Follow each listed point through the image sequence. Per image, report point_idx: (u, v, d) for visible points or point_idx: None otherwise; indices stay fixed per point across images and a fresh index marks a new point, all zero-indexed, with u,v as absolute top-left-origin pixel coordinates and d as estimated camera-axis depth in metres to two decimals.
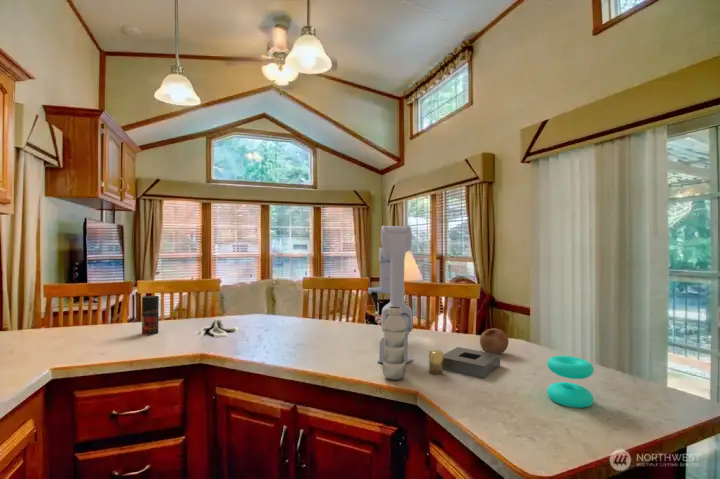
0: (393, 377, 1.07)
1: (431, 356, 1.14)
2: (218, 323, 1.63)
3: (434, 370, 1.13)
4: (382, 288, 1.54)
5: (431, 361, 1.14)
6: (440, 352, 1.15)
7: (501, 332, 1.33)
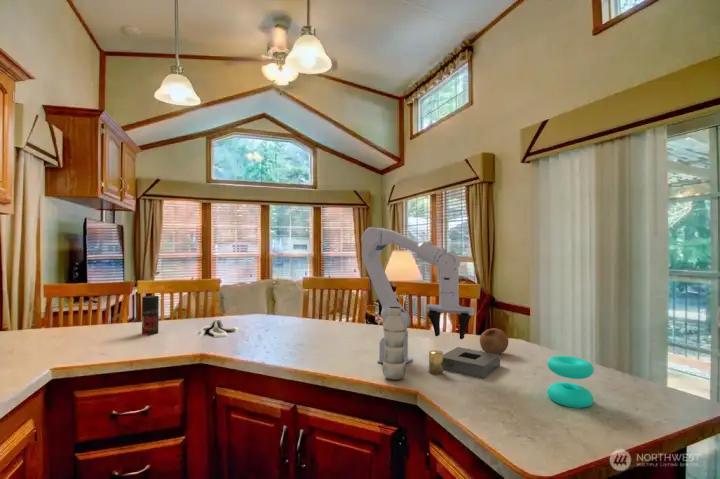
0: (393, 377, 1.07)
1: (431, 356, 1.14)
2: (218, 323, 1.63)
3: (434, 370, 1.13)
4: (440, 304, 1.17)
5: (431, 361, 1.14)
6: (440, 352, 1.15)
7: (501, 332, 1.33)
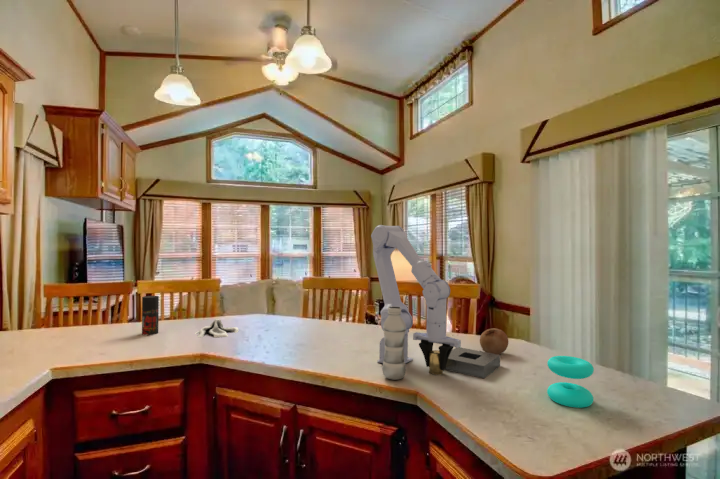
0: (393, 377, 1.07)
1: (431, 356, 1.14)
2: (218, 323, 1.63)
3: (434, 370, 1.13)
4: (427, 334, 1.15)
5: (431, 361, 1.14)
6: None
7: (501, 332, 1.33)
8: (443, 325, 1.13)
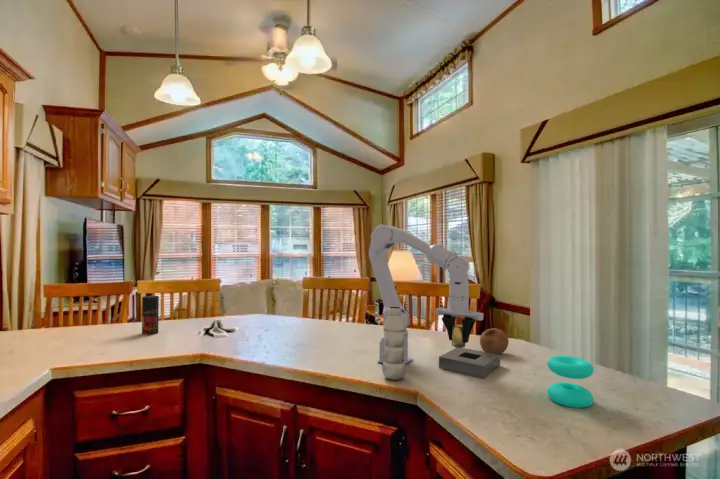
0: (393, 377, 1.07)
1: (454, 330, 1.17)
2: (218, 323, 1.62)
3: (457, 343, 1.17)
4: (450, 308, 1.18)
5: (454, 334, 1.17)
6: (462, 326, 1.18)
7: (501, 332, 1.33)
8: (466, 299, 1.16)
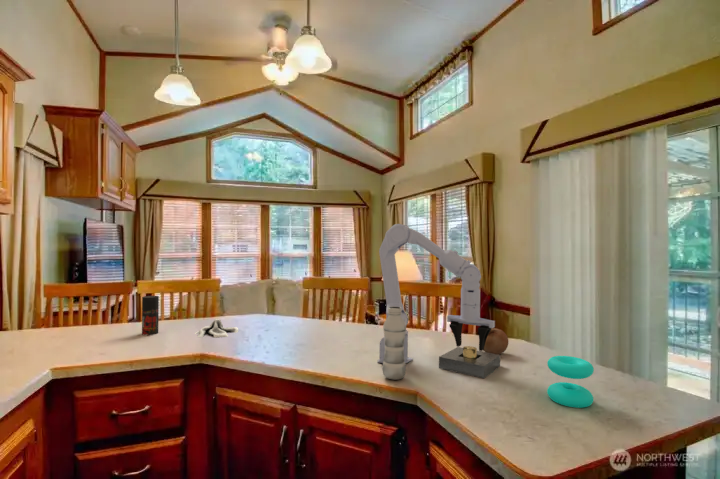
0: (393, 377, 1.07)
1: (465, 351, 1.19)
2: (218, 323, 1.62)
3: None
4: (461, 316, 1.20)
5: (465, 356, 1.19)
6: (474, 348, 1.20)
7: (501, 332, 1.33)
8: (477, 307, 1.18)
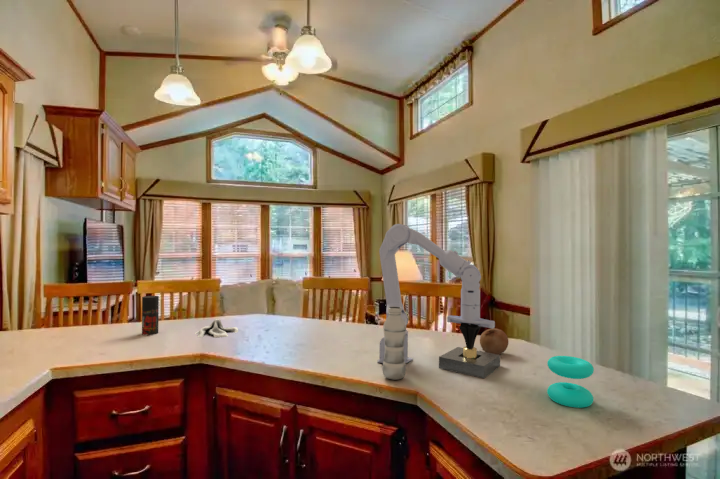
0: (393, 377, 1.07)
1: (465, 352, 1.19)
2: (218, 323, 1.62)
3: None
4: (461, 316, 1.20)
5: (465, 356, 1.19)
6: (474, 348, 1.20)
7: (501, 332, 1.33)
8: (477, 307, 1.18)
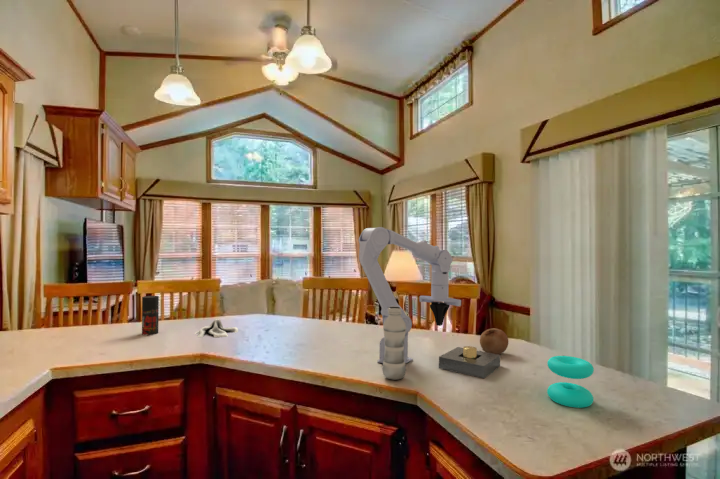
0: (393, 377, 1.07)
1: (465, 351, 1.19)
2: (218, 323, 1.62)
3: None
4: (431, 296, 1.31)
5: (465, 356, 1.19)
6: (474, 348, 1.20)
7: (501, 332, 1.33)
8: (446, 287, 1.30)
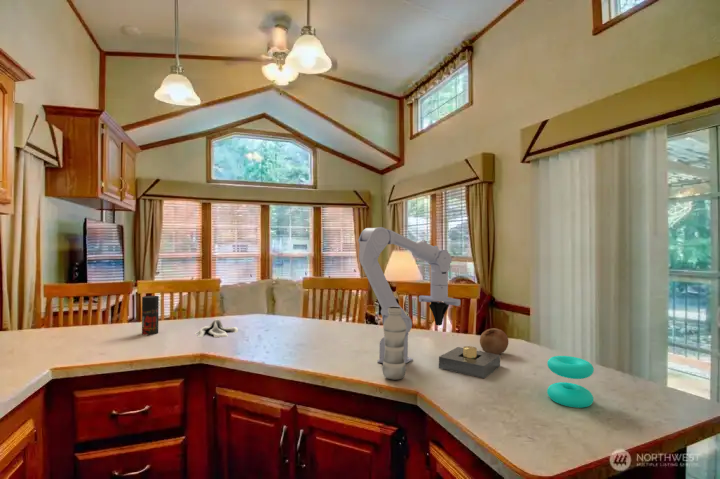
0: (393, 377, 1.07)
1: (465, 351, 1.19)
2: (218, 323, 1.62)
3: None
4: (431, 296, 1.32)
5: (465, 356, 1.19)
6: (474, 348, 1.20)
7: (501, 332, 1.33)
8: (445, 287, 1.30)
